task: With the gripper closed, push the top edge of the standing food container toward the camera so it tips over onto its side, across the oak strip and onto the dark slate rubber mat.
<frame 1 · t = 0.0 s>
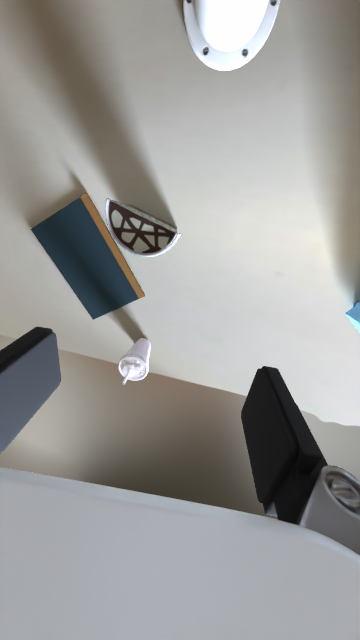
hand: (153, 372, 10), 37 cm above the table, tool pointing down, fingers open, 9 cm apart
smoothie: (143, 344, 54), on the table
food container: (149, 232, 43), on the table
mat: (88, 265, 46), on the table
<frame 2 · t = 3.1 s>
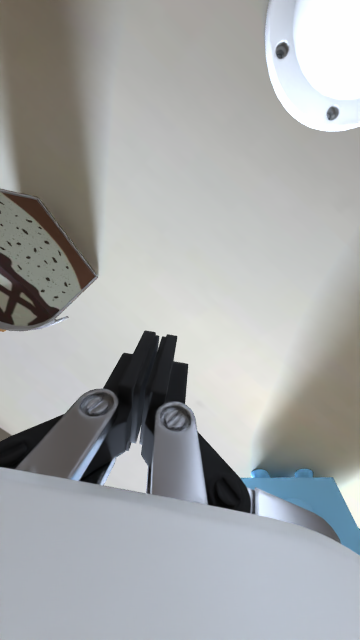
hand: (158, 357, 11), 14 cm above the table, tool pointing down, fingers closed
teakettle: (286, 484, 39), on the table
food container: (51, 254, 24), on the table
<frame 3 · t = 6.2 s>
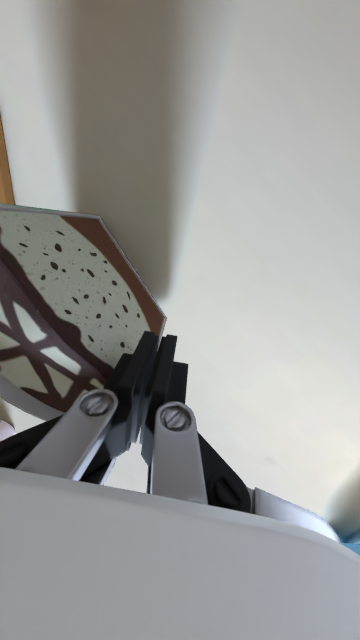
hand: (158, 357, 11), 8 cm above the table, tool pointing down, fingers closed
smoothie: (3, 427, 28), on the table
food container: (108, 287, 19), on the table
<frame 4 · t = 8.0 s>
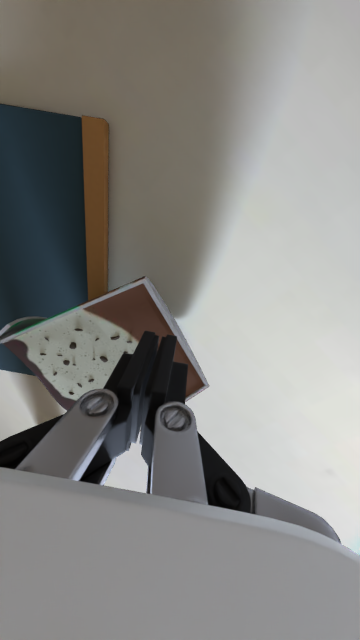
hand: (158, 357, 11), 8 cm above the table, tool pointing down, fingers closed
food container: (176, 320, 17), point 2 cm above the table, touching mat
mat: (17, 273, 19), on the table
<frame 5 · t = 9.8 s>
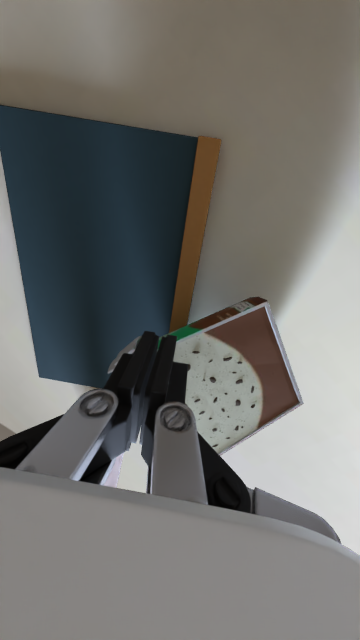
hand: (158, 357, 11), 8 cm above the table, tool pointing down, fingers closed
food container: (265, 336, 17), point 2 cm above the table, touching mat
mat: (99, 288, 18), on the table
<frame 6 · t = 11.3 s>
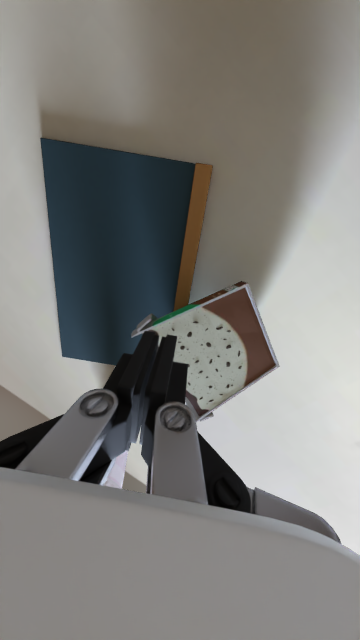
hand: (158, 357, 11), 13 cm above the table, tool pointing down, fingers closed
smoothie: (120, 423, 32), on the table
food container: (250, 315, 22), point 2 cm above the table, touching mat
mat: (116, 279, 23), on the table
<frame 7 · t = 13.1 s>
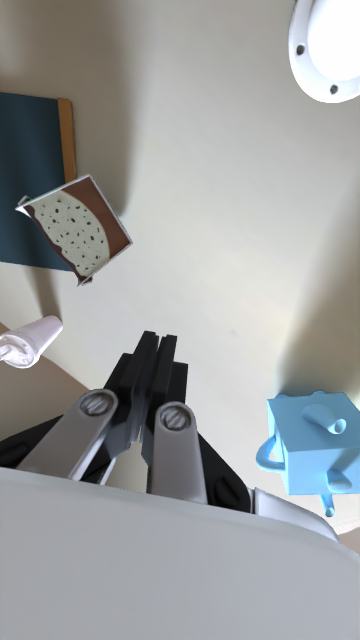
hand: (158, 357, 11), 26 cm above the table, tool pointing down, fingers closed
smoothie: (54, 323, 42), on the table
teakettle: (304, 409, 46), on the table
food container: (115, 211, 31), point 2 cm above the table, touching mat
mat: (27, 193, 33), on the table
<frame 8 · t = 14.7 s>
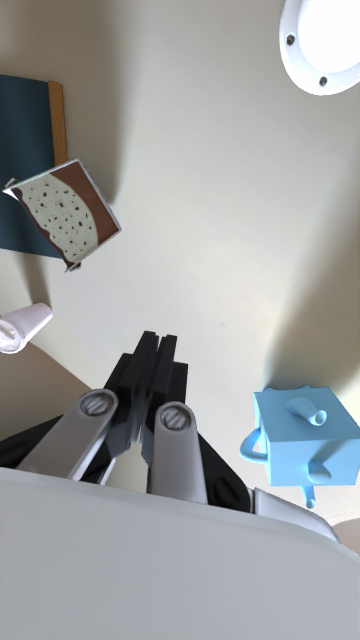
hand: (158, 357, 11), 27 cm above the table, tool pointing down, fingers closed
smoothie: (43, 311, 42), on the table
teakettle: (291, 403, 47), on the table
food container: (105, 198, 31), point 2 cm above the table, touching mat
mat: (17, 177, 32), on the table
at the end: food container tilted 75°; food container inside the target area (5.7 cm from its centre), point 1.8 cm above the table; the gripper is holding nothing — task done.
